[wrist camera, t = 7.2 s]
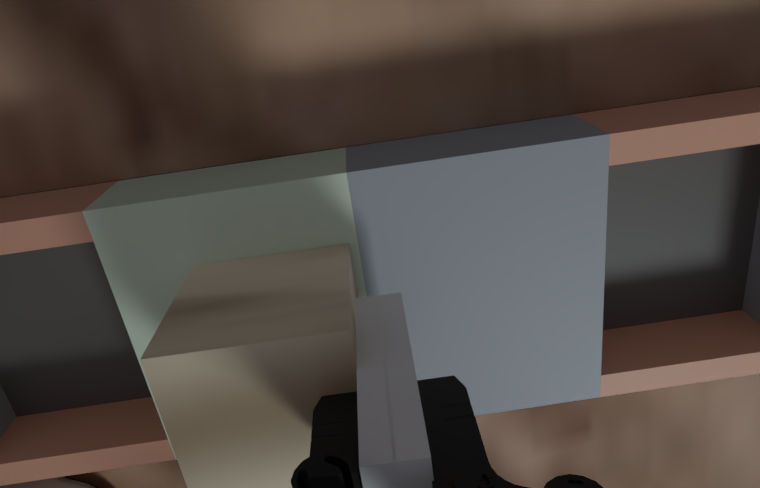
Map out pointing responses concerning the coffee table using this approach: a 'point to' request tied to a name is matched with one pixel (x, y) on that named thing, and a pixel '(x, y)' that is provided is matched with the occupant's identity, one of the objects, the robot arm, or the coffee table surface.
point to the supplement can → (50, 484)
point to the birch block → (253, 363)
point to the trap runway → (405, 266)
